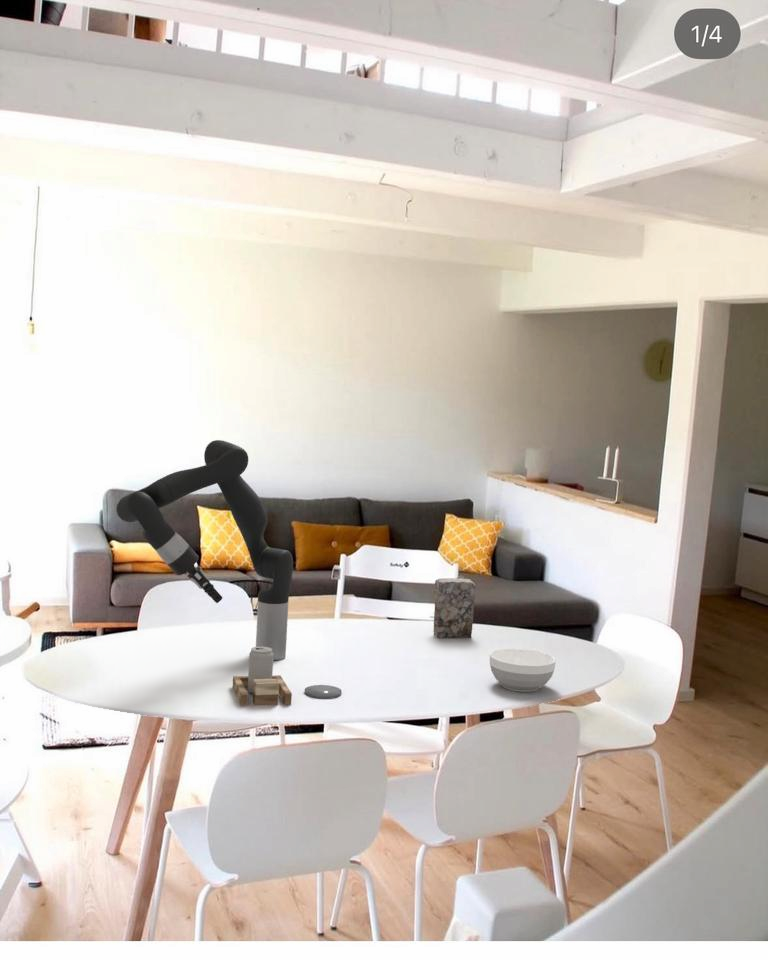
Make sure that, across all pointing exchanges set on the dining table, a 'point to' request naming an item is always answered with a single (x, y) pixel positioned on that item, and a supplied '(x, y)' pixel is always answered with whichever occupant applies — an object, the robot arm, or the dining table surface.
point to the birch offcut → (265, 686)
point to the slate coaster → (323, 691)
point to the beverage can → (260, 665)
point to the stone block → (454, 608)
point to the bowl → (522, 669)
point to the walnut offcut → (265, 699)
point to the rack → (242, 683)
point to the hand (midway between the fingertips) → (216, 597)
